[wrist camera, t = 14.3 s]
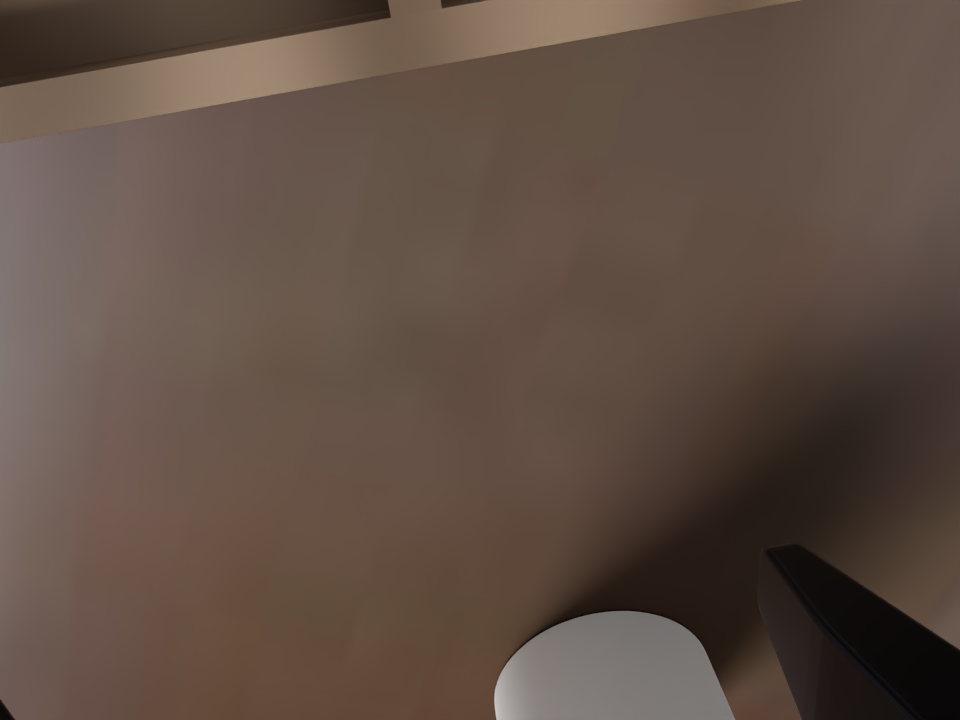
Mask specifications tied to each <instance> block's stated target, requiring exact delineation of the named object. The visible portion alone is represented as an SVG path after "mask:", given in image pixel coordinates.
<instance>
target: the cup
mask: <svg viewBox="0 0 960 720" xmlns="http://www.w3.org/2000/svg"><path fill="white" fill-rule="evenodd" d="M494 703H495V711H496V719H497V720H735V719H734V716H733V714H732V712H731V709H730V707H729V705H728V702H727V700H726V698H725V695H724V693H723V691H722V688H721V686H720V684H719V681H718V679H717V677H716V674H715V672H714V670H713V667H712V665H711V663H710V660H709V658H708V656H707V653H706V651H705V649H704V647H703V646H702V644H701V643H700V641H699V640H698V639H697V638H696V637H695V636H694V635H693V634H692V633H691V632H690V631H689V630H688V629H686V628H685V627H683V626H682V625H680V624H678V623H676V622H674V621H672V620H670V619H667V618H664V617H662V616H658V615H654V614H650V613H644V612H635V611H610V612H601V613H594V614H590V615H585V616H581V617H577V618H574V619H571V620H568V621H565V622H563V623H560V624H558V625H556V626H553V627H551V628H549V629H548V630H546V631H544V632H542V633H540V634H539V635H537V636H536V637H534V638H533V639H531V640H530V641H529V642H527V643H526V644H525V645H524V646H522V647H521V648H520V649H519V650H518V651H517V652H516V653H515V654H514V655H513V656H512V657H511V659H510V660H509V661H508V662H507V664H506V665H505V667H504V669H503V670H502V672H501V674H500V676H499V678H498V681H497V684H496V688H495V696H494Z"/></svg>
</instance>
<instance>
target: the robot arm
mask: <svg viewBox="0 0 960 720" xmlns="http://www.w3.org/2000/svg"><path fill="white" fill-rule="evenodd" d="M758 604H759V609H760V613H761V616H762V619H763V621H764V624H765V627H766V629H767V632H768V634H769V637H770V639H771V642H772V644H773V647H774V649H775V652H776V655H777V657H778V660H779V662H780V665H781V667H782V670H783V672H784V675H785V677H786V680H787V683H788V685H789V688H790V690H791V693H792V695H793V698H794V700H795V703H796V705H797V708H798V711H799V713H800V716H801V718H802V720H960V650H959V649H958V648H956V647H955V646H953V645H952V644H950V643H949V642H947V641H946V640H944V639H943V638H941V637H940V636H938V635H937V634H935V633H934V632H932V631H931V630H929V629H928V628H926V627H925V626H923V625H922V624H920V623H919V622H917V621H915V620H914V619H912V618H911V617H909V616H908V615H906V614H905V613H903V612H902V611H900V610H899V609H897V608H896V607H894V606H893V605H891V604H890V603H888V602H887V601H885V600H884V599H882V598H881V597H879V596H878V595H876V594H875V593H873V592H872V591H870V590H869V589H867V588H866V587H864V586H863V585H861V584H860V583H858V582H857V581H855V580H854V579H852V578H851V577H849V576H848V575H846V574H845V573H843V572H842V571H840V570H839V569H837V568H836V567H834V566H833V565H831V564H830V563H828V562H827V561H825V560H824V559H822V558H821V557H819V556H818V555H816V554H815V553H813V552H812V551H810V550H809V549H807V548H806V547H804V546H802V545H801V544H798V543H794V542H790V543H784V544H779V545H773V546H768V547H765V548H763V549H762V550H761V552H760V555H759V574H758ZM0 720H15V719H14V718H13V716H12V715H11V713H10V712H9V711H8V709H7V708H6V707H5V705H4V704H3V702H2V701H1V700H0Z"/></svg>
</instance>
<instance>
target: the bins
mask: <svg viewBox="0 0 960 720" xmlns="http://www.w3.org/2000/svg"><path fill="white" fill-rule="evenodd" d="M793 1H799V0H0V143H5V142H11V141H16V140H22V139H27V138H33V137H39V136H44V135H50V134H55V133H61V132H67V131H72V130H78V129H83V128H89V127H95V126H100V125H106V124H111V123H117V122H122V121H128V120H134V119H139V118H145V117H150V116H156V115H162V114H167V113H173V112H178V111H184V110H190V109H195V108H201V107H206V106H212V105H217V104H223V103H229V102H234V101H240V100H245V99H251V98H257V97H262V96H268V95H273V94H279V93H285V92H290V91H296V90H301V89H307V88H312V87H318V86H324V85H329V84H335V83H340V82H346V81H352V80H357V79H363V78H368V77H374V76H380V75H385V74H391V73H396V72H402V71H408V70H413V69H419V68H424V67H430V66H435V65H441V64H447V63H452V62H458V61H463V60H469V59H475V58H480V57H486V56H491V55H497V54H503V53H508V52H514V51H519V50H525V49H530V48H536V47H542V46H547V45H553V44H558V43H564V42H570V41H575V40H581V39H586V38H592V37H598V36H603V35H609V34H614V33H620V32H625V31H631V30H637V29H642V28H648V27H653V26H659V25H665V24H670V23H676V22H681V21H687V20H693V19H698V18H704V17H709V16H715V15H720V14H726V13H732V12H737V11H743V10H748V9H754V8H760V7H765V6H771V5H776V4H782V3H788V2H793Z"/></svg>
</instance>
